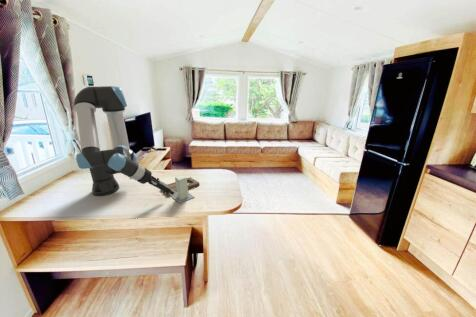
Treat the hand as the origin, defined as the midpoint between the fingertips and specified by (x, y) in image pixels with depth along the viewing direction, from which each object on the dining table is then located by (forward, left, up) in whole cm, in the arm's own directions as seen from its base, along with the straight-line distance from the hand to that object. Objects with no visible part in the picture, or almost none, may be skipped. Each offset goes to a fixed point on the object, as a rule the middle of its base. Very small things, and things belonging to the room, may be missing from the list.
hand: (171, 190), depth 120 cm
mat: (0, +7, -7) cm, 10 cm away
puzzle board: (-13, +12, -7) cm, 19 cm away
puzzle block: (0, +7, -6) cm, 9 cm away
